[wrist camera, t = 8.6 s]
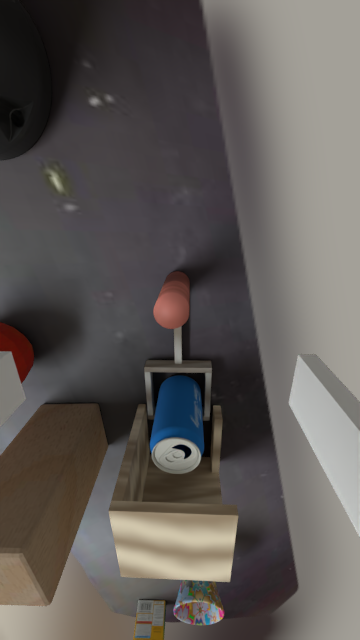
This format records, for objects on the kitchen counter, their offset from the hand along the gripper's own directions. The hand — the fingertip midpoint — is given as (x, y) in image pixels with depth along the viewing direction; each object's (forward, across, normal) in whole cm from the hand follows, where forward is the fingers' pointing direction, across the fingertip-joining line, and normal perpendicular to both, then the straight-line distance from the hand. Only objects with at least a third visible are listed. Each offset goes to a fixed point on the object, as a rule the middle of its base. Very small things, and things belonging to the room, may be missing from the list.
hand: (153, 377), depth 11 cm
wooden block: (+22, -18, -26) cm, 39 cm away
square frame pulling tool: (+22, 0, -11) cm, 24 cm away
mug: (+22, +4, -61) cm, 65 cm away
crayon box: (+22, -8, -88) cm, 91 cm away
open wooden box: (+22, 0, -28) cm, 36 cm away
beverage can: (+22, 0, -18) cm, 29 cm away
